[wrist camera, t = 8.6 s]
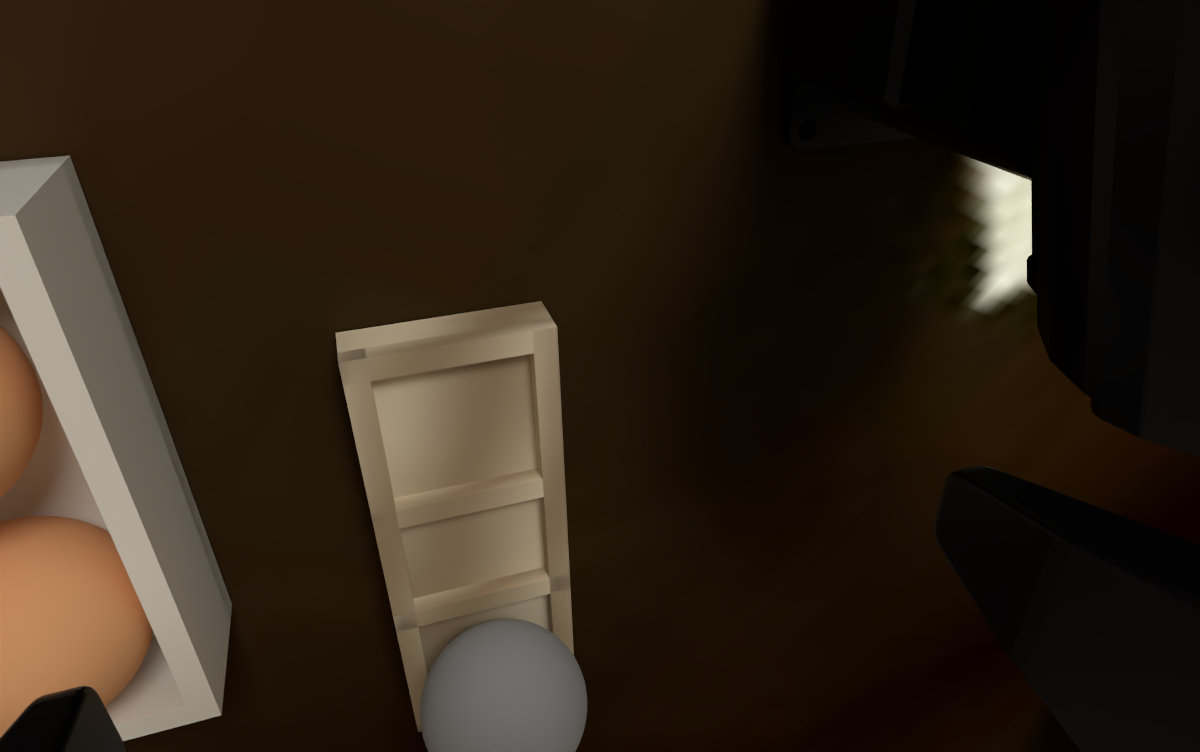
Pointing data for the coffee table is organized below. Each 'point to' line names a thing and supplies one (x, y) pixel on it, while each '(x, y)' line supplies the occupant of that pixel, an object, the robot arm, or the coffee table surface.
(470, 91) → the coffee table surface
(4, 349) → the terracotta ball
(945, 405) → the coffee table surface
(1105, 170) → the robot arm
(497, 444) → the frame
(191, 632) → the ceramic trough
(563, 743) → the ball slate grey
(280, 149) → the coffee table surface
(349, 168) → the coffee table surface
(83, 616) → the terracotta ball
